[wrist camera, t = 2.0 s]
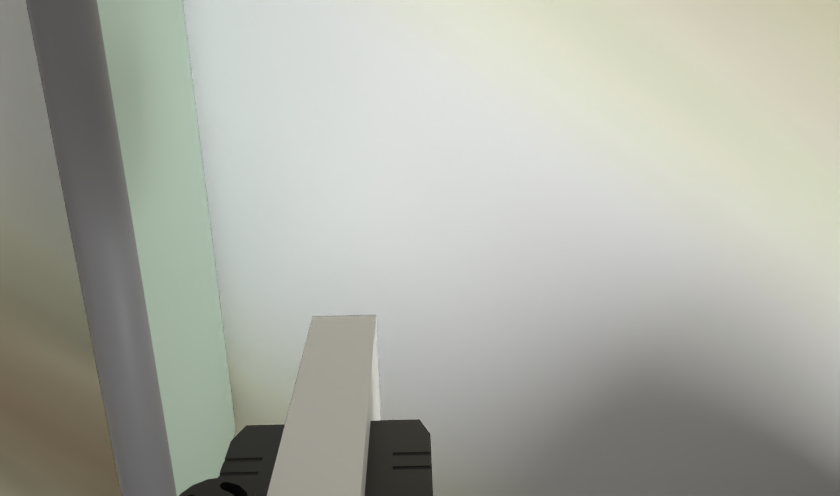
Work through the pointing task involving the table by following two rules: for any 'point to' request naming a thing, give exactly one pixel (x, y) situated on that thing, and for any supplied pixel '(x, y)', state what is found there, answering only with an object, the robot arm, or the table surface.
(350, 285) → the table surface
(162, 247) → the pale green flat panel
